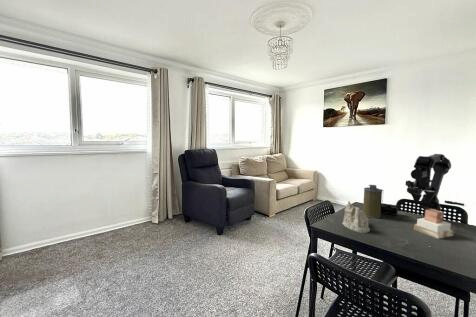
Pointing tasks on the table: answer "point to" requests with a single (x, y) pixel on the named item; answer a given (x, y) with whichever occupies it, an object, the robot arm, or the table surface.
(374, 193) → the canister
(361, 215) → the ceramic cottage
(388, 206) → the end cap
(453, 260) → the table surface
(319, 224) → the table surface
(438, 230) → the cream top slab
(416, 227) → the birch base slab
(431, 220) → the terracotta cube
